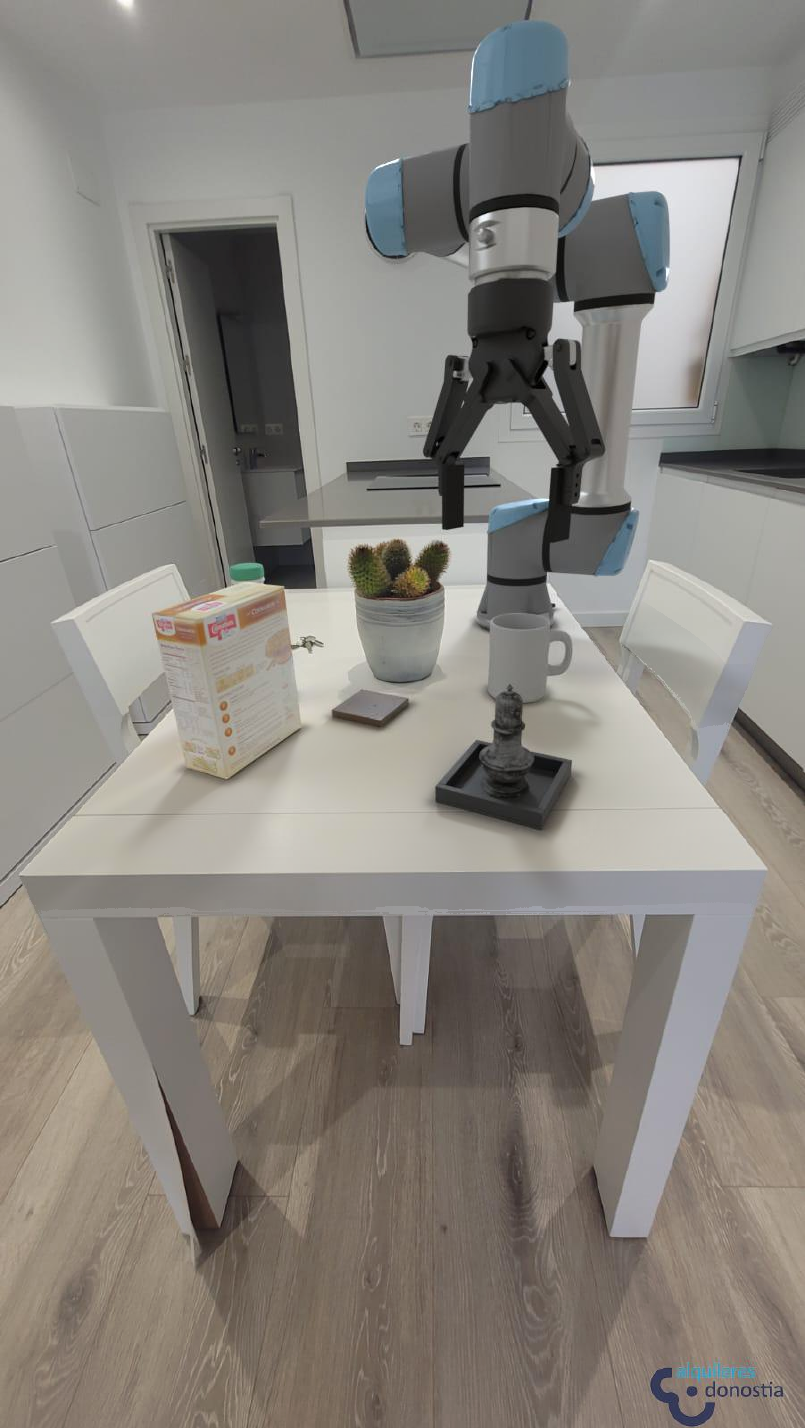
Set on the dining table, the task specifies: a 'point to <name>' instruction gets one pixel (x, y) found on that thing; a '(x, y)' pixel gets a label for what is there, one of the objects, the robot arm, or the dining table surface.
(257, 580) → the milk bottle
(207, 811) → the dining table surface
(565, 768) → the pan
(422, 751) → the dining table surface
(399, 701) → the coaster
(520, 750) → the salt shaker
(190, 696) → the coffeecake box
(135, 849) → the dining table surface
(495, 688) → the mug
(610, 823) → the dining table surface
